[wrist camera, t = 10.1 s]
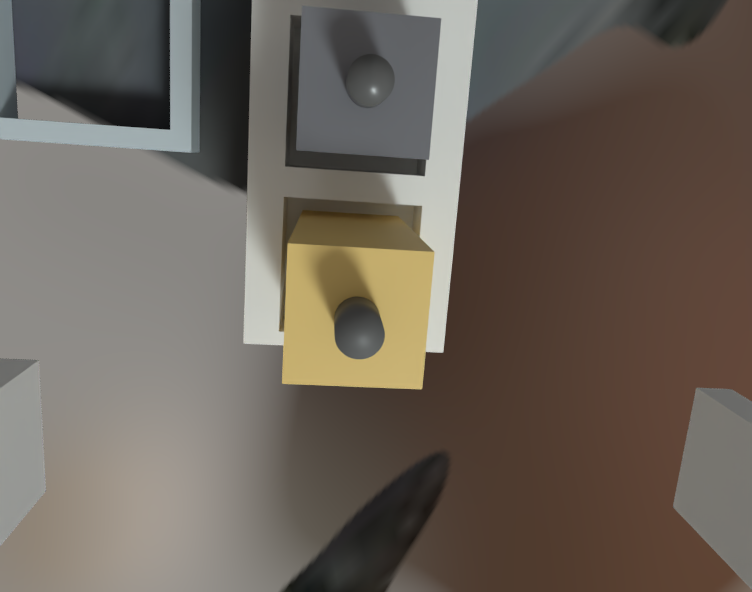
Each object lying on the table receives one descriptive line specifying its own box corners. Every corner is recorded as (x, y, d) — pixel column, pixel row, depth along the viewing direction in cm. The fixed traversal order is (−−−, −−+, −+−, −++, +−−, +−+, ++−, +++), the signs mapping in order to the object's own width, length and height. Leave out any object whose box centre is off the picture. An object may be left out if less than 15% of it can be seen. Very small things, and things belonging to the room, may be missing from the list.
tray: (-16, -80, 30) (-40, -97, 28) (201, -59, 30) (192, -73, 29) (-2, 138, 32) (-24, 137, 30) (199, 152, 33) (191, 152, 31)
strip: (266, -169, 30) (225, -376, 18) (475, -146, 30) (564, -328, 19) (253, 321, 35) (214, 408, 23) (430, 330, 36) (479, 417, 24)
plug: (302, 210, 33) (283, 252, 19) (398, 216, 33) (445, 261, 20) (298, 303, 34) (277, 405, 20) (391, 307, 34) (430, 411, 21)
